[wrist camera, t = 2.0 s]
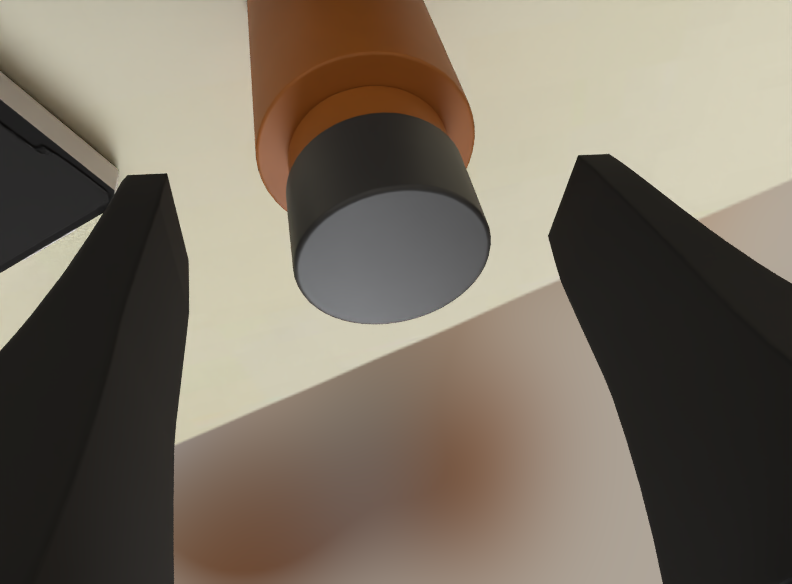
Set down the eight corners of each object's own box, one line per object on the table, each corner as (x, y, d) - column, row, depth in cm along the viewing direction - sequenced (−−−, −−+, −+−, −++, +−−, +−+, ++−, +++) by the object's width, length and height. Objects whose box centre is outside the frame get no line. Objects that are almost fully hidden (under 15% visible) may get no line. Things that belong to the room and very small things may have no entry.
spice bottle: (405, 77, 19) (492, 330, 13) (254, 80, 18) (271, 351, 12) (422, -86, 15) (551, 153, 9) (238, -91, 14) (249, 166, 8)
